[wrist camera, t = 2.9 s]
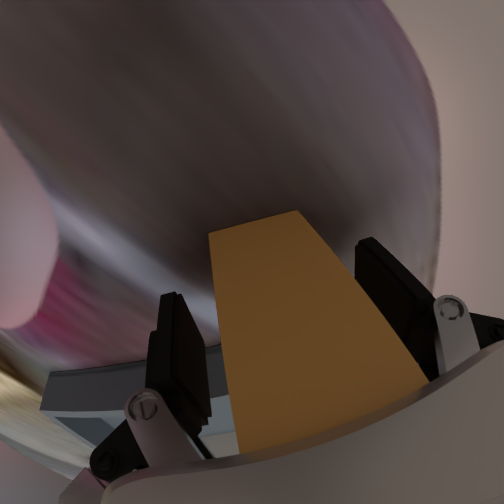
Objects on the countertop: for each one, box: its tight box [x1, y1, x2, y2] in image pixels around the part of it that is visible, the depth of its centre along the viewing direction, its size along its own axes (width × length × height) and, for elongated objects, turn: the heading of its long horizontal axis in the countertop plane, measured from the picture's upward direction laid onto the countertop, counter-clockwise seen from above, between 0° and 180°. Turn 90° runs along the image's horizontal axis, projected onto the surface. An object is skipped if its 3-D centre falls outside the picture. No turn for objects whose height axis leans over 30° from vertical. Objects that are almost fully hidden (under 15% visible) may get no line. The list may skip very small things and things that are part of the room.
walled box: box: [40, 345, 240, 458], centre depth 18 cm, size 20×18×5 cm
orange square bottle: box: [208, 210, 430, 454], centre depth 8 cm, size 4×4×12 cm
